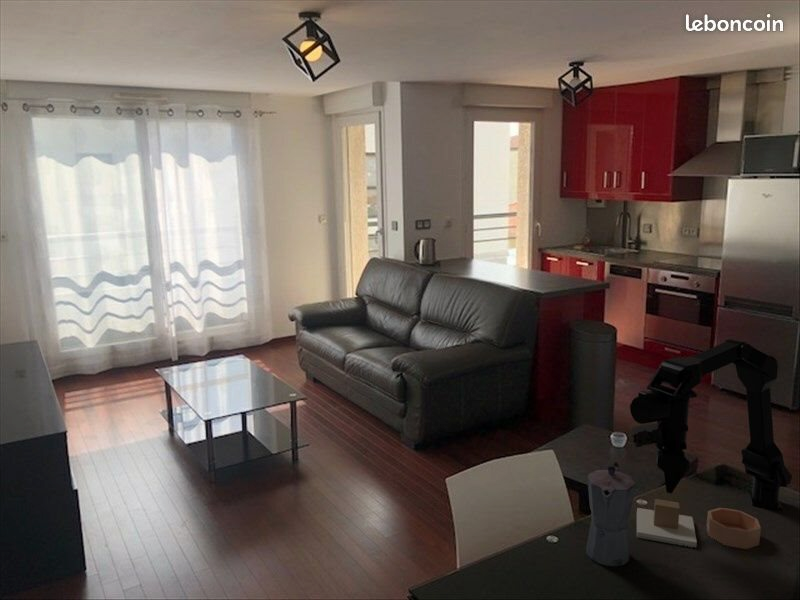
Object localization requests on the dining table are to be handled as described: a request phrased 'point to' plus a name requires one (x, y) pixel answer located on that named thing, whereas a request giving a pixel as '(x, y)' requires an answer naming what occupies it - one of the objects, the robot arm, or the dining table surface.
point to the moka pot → (609, 516)
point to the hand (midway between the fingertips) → (668, 484)
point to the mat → (665, 541)
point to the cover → (666, 523)
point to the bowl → (733, 528)
